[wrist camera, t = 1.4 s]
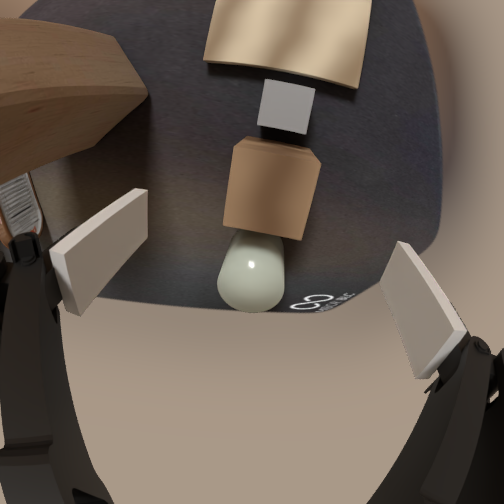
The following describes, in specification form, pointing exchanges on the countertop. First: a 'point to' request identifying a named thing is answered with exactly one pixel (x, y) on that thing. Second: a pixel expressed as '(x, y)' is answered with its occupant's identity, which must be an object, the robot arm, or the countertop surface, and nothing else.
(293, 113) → the slate cube
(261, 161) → the walnut block
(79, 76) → the block
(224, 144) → the countertop surface
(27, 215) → the tin
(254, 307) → the pale green rounded cylinder
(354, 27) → the board
